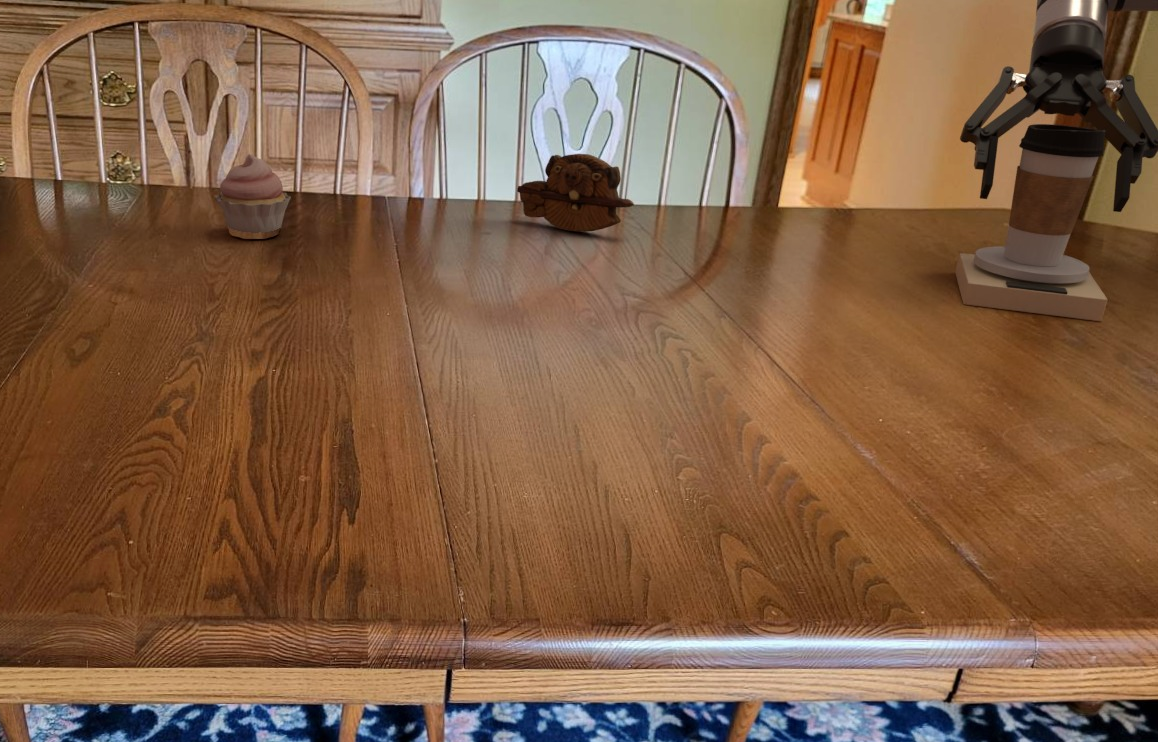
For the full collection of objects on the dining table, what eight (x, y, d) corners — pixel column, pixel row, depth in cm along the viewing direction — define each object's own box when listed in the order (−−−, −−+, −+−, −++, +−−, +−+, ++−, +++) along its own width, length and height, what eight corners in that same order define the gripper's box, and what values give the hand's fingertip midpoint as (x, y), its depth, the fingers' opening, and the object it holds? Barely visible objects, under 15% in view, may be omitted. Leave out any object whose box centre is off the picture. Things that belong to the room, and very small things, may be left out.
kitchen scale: (1080, 287, 131) (1089, 254, 130) (1101, 321, 119) (1112, 286, 118) (954, 272, 135) (962, 240, 134) (963, 304, 123) (971, 269, 122)
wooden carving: (508, 224, 149) (513, 149, 144) (523, 218, 152) (528, 144, 148) (622, 244, 141) (630, 165, 137) (635, 237, 145) (643, 160, 141)
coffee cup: (1025, 271, 122) (1062, 132, 115) (976, 250, 129) (1008, 119, 123) (1089, 268, 124) (1128, 132, 117) (1037, 249, 131) (1071, 119, 125)
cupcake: (203, 230, 139) (198, 150, 135) (269, 222, 145) (267, 144, 140) (237, 247, 133) (233, 163, 128) (305, 238, 138) (303, 157, 134)
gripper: (1176, 73, 128) (1166, 229, 121) (947, 58, 135) (926, 205, 128) (1203, 27, 121) (1194, 190, 114) (960, 14, 128) (938, 167, 121)
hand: (1052, 198), depth 121 cm, fingers open, 13 cm apart
